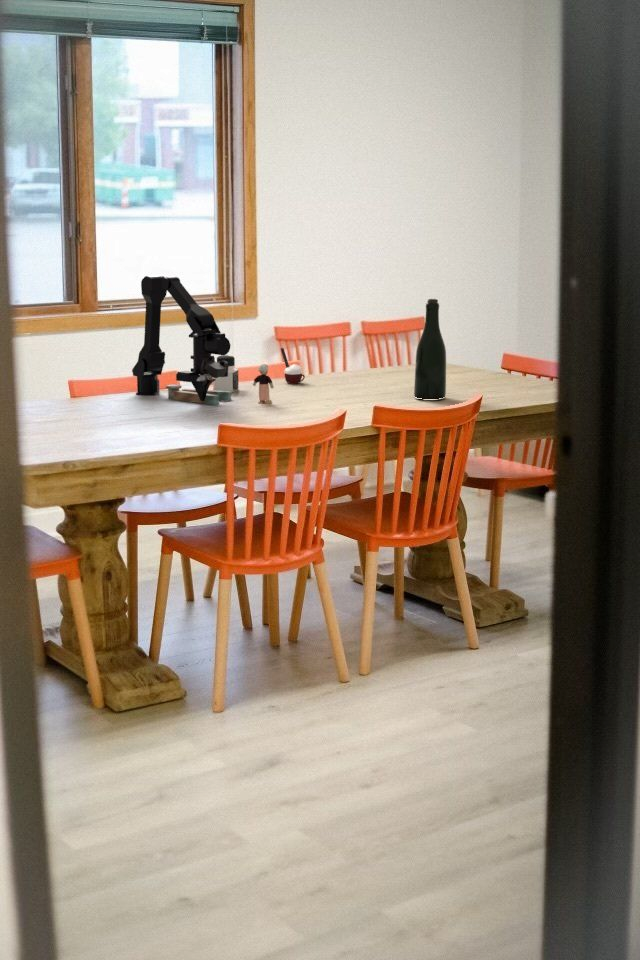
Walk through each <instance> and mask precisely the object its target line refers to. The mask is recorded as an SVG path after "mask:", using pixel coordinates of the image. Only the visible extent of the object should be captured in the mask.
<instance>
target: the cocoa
mask: <svg viewBox="0 0 640 960" xmlns="http://www.w3.org/2000/svg"><path fill="white" fill-rule="evenodd" d="M280 351H281V356H282V359H283V362H284V364H285V367H286V368H285V369H284V371H283V372H284V379H285V381H286V383H287V384H291V385H297V384H299V383H301V382H303V381H304V380H305V377H306V376H305V374H303V369H302V368H301V366H300V365H298V364H292V365H289V362H288V359H287V358H288V357H287V356H286V355H287V354H286V351H285V347H284V348H283V347H281V348H280Z"/></svg>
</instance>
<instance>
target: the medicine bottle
mask: <svg viewBox="0 0 640 960" xmlns="http://www.w3.org/2000/svg"><path fill="white" fill-rule="evenodd" d="M221 361H226V362H228V377H218V378H213V379H216V380H215V381H213V382H212V383H213V384H212V385H213V386H212V387H213V389H212V390H219V391H231V394H232V393H234V392H236V391H238V390H239V369H238V368H235V366H236V365H235V357H234V355H228V354H226V355H218V356H217V357H216V362H221Z"/></svg>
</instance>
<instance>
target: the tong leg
mask: <svg viewBox="0 0 640 960" xmlns="http://www.w3.org/2000/svg"><path fill="white" fill-rule="evenodd" d="M173 400H174V401H182V402H191V403H197V404H206V405H212V406H213V405H214V406H216V405H219V404H220V400H219V395H213V394H206V397H205V400H204V401H201V400H200V398H199V396H198V394H197V392H189V391H182V389H181V390H180V389H179V390H178V391H174V399H173Z"/></svg>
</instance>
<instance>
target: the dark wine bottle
mask: <svg viewBox="0 0 640 960" xmlns="http://www.w3.org/2000/svg"><path fill="white" fill-rule="evenodd" d="M439 310H440V304H439V301H438V299H437V298H428V299H427V302H426V303H425V318H424V319H425V321H424V327H423V331H422V334H421V336H420V338H419V341H418V344H417V348H416V353H415V364H414V365H415V366H414V385H413V386H414V387H413V388H414V389H413V391H414V392H413V395H414V396H415V397H417V398H422V399H439V398H443V397H445V396H446V395H447V393H446V392H447V348H446V346H445V341H444V338H443V335H442V332H441V328H440V311H439ZM414 396H413V397H414ZM415 397H414V398H415ZM445 398H446V397H445Z"/></svg>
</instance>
